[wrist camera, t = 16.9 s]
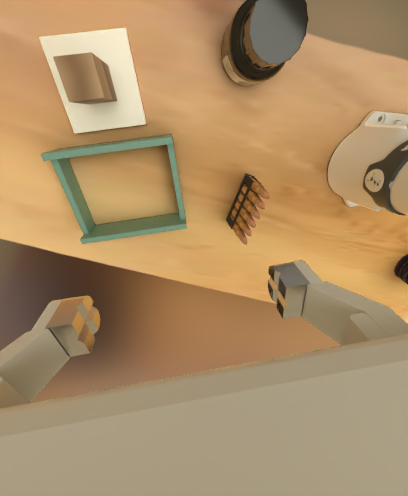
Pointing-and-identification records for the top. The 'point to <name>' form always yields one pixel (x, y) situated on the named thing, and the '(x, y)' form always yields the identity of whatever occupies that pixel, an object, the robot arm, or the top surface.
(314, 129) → the top surface
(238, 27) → the ink bottle
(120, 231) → the box
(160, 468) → the robot arm
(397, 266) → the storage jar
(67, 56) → the walnut block
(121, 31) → the board
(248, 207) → the ammunition clip
